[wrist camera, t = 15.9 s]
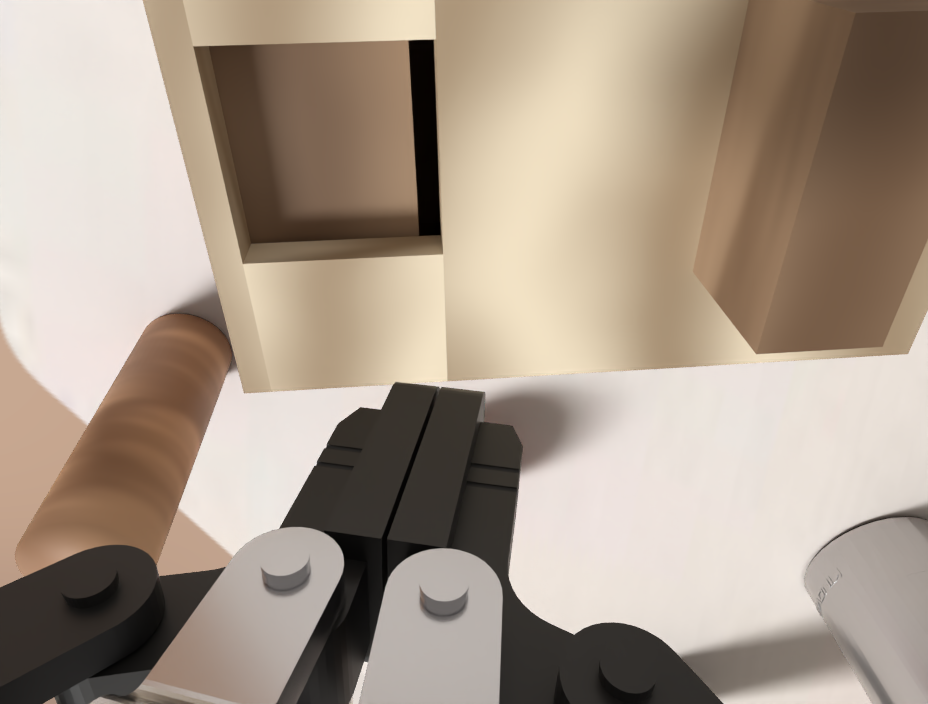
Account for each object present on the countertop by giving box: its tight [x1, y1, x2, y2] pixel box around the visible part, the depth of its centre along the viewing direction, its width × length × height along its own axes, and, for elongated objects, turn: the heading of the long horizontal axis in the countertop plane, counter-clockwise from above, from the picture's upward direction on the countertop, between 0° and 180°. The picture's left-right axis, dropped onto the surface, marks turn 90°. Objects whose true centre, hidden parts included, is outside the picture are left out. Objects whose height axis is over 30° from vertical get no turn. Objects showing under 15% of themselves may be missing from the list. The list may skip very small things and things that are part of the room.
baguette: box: [15, 314, 232, 577], centre depth 26 cm, size 4×4×12 cm
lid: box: [143, 0, 928, 393], centre depth 15 cm, size 20×14×5 cm, turn 91°
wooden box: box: [209, 39, 441, 244], centre depth 21 cm, size 20×14×9 cm
